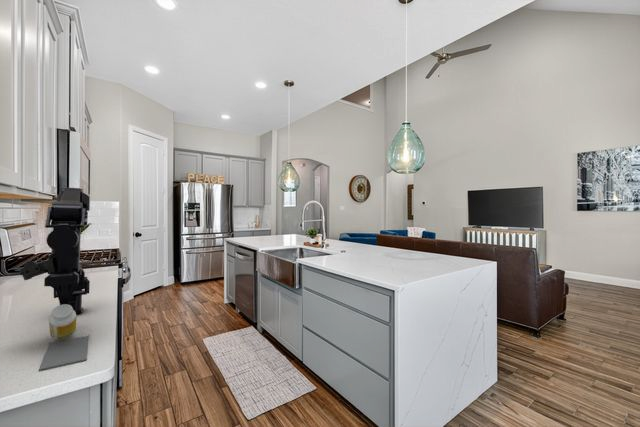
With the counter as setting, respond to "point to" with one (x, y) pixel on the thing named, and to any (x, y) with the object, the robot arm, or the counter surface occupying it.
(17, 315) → the counter surface
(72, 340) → the mat
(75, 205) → the robot arm
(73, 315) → the supplement bottle
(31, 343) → the counter surface
